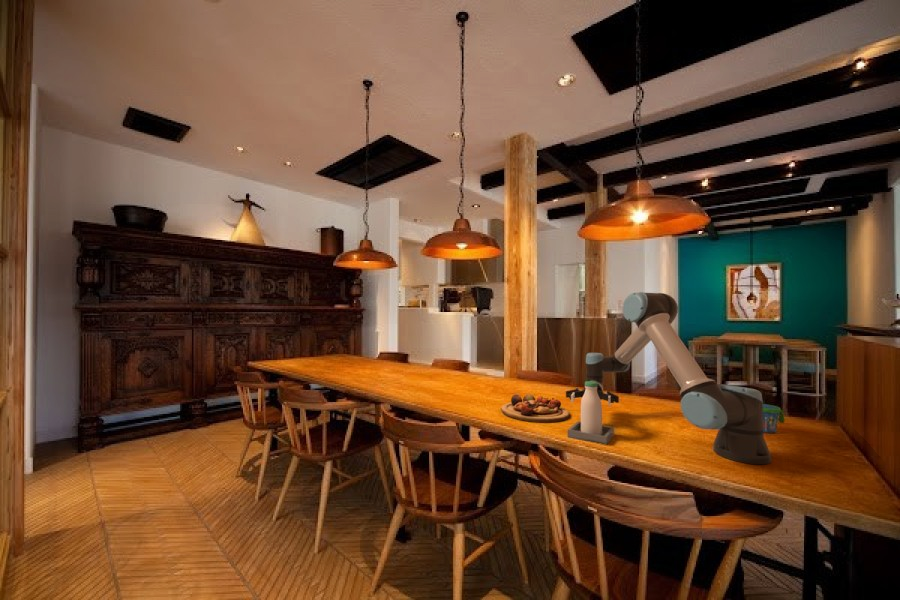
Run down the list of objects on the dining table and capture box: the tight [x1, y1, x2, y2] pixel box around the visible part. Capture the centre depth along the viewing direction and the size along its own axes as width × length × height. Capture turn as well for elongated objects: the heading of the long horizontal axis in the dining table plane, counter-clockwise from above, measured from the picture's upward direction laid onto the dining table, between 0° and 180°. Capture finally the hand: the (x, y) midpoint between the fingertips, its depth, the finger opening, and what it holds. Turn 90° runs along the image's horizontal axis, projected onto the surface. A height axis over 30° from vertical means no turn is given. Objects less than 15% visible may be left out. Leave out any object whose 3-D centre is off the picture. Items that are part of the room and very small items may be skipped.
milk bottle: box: [580, 380, 603, 435], centre depth 140 cm, size 8×8×20 cm
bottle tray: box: [567, 420, 615, 446], centre depth 139 cm, size 14×14×3 cm
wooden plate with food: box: [500, 393, 571, 423], centre depth 171 cm, size 32×32×8 cm
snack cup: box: [763, 403, 786, 434], centre depth 148 cm, size 16×10×10 cm
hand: (590, 400), depth 140 cm, fingers open, 13 cm apart
